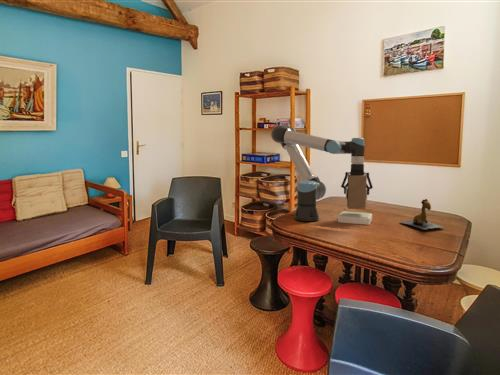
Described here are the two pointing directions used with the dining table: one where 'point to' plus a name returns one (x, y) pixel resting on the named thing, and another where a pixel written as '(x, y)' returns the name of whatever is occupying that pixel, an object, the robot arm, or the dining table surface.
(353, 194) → the wooden block
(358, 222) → the picture frame
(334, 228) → the dining table surface
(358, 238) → the dining table surface
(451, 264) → the dining table surface
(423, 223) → the stuffed giraffe
